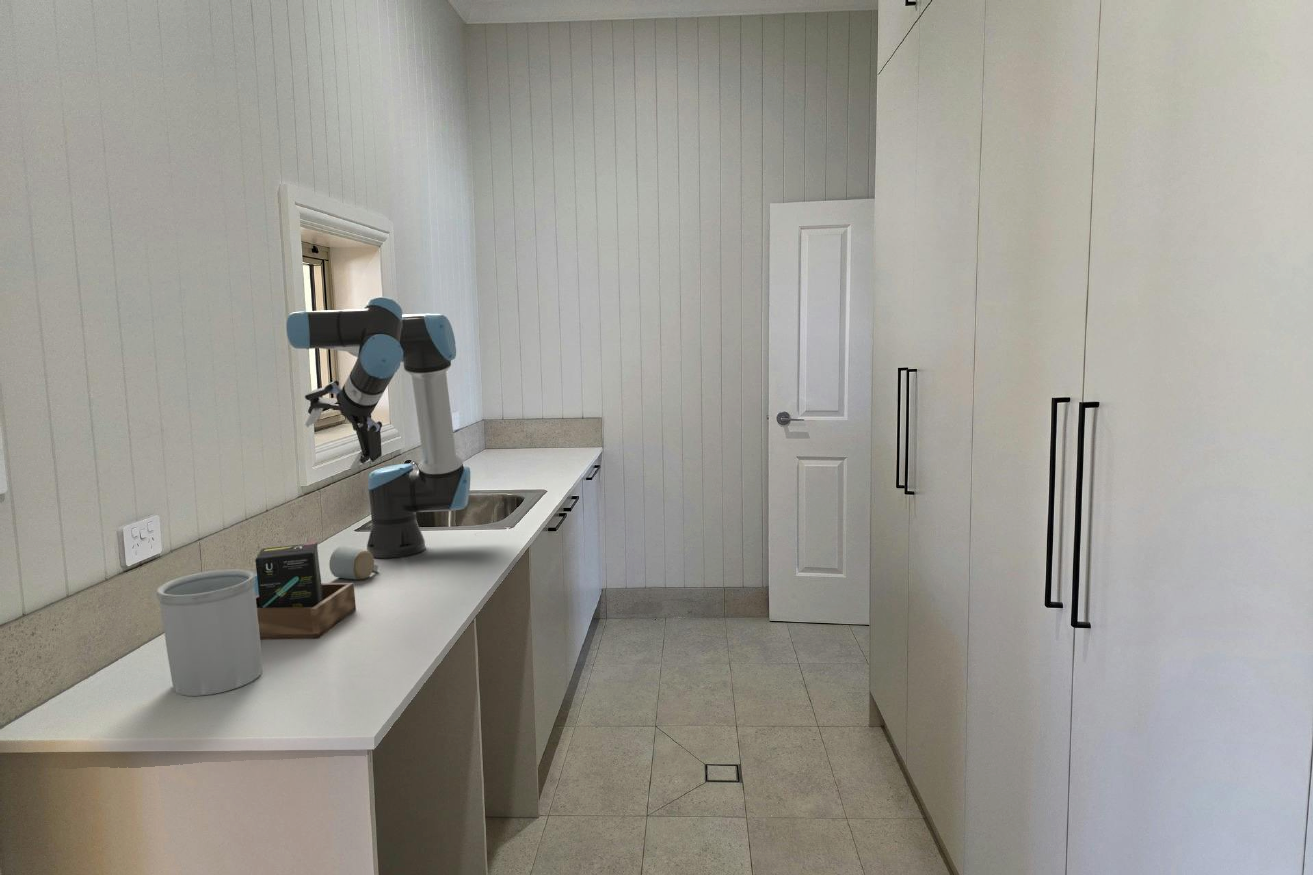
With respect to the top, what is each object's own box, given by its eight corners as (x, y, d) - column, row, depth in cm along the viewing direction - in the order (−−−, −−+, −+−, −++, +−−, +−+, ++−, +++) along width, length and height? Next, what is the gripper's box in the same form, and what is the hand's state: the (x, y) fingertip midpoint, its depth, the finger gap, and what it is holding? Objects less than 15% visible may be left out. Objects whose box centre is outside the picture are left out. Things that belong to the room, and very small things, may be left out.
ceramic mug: (356, 583, 202) (354, 551, 201) (329, 581, 205) (327, 549, 204) (386, 572, 211) (384, 541, 211) (360, 570, 214) (358, 540, 214)
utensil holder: (162, 705, 137) (150, 599, 134) (173, 673, 150) (162, 576, 148) (263, 687, 142) (253, 585, 140) (265, 657, 156) (256, 564, 154)
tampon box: (324, 609, 180) (318, 541, 178) (320, 622, 171) (314, 551, 169) (267, 616, 177) (261, 547, 175) (261, 630, 168) (254, 558, 166)
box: (279, 610, 183) (276, 583, 182) (356, 610, 182) (353, 582, 181) (234, 639, 166) (231, 609, 165) (318, 638, 165) (315, 608, 164)
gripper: (303, 357, 172) (279, 413, 186) (394, 443, 173) (362, 492, 187) (331, 341, 177) (305, 397, 192) (418, 425, 178) (385, 474, 193)
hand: (333, 444), depth 189 cm, fingers open, 13 cm apart
